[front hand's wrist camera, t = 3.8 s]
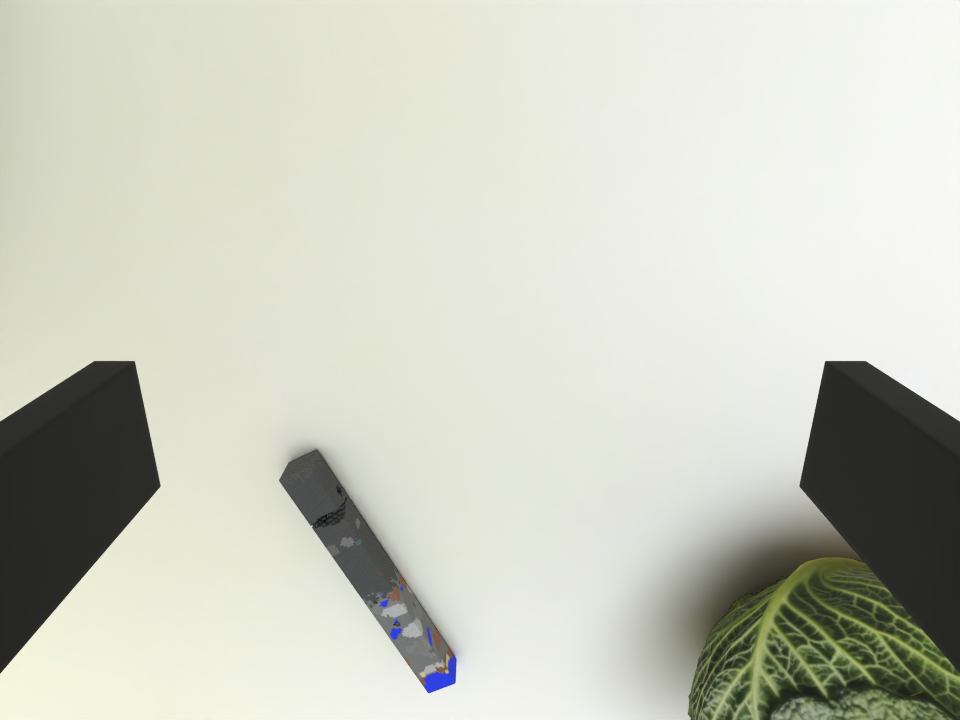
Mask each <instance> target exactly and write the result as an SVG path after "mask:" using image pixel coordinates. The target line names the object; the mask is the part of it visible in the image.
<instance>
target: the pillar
mask: <svg viewBox="0 0 960 720" xmlns="http://www.w3.org/2000/svg"><path fill="white" fill-rule="evenodd" d="M279 481H280V483H281V484H282V486H283V487H284V488H285V490H286V491H287V493H288V494H289V496H290V497H291V498H292V500H293V501H294V503H295V504H296V505H297V507H298V508H299V510H300V511H301V513H302V514H303V515H304V517H305V518H306V520H307V521H308V523H309V524H310V525H311V526H312V525H313V527H312V528H313V530H314V531H315V533H316V534H317V535H318V537H319V538H320V540H321V541H322V542H323V544H324V545H325V547H326V548H327V550H328V551H329V552H330V554H331V555H332V557H333V558H334V560H335V561H336V562H337V564H338V565H339V567H340V568H341V570H342V571H343V572H344V574H345V575H346V577H347V578H348V580H349V581H350V582H351V584H352V585H353V587H354V588H355V589H356V591H357V592H358V594H359V595H360V597H361V598H362V599H363V601H364V602H365V604H366V605H367V607H368V608H369V609H370V611H371V612H372V614H373V615H374V617H375V618H376V619H377V621H378V622H379V624H380V625H381V627H382V628H383V629H384V631H385V632H386V634H387V635H388V636H389V638H390V639H391V641H392V642H393V644H394V645H395V646H396V648H397V649H398V651H399V652H400V654H401V655H402V656H403V658H404V659H405V661H406V662H407V664H408V665H409V666H410V668H411V669H412V671H413V672H414V673H415V675H416V676H417V678H418V679H419V681H420V682H421V683H422V685H423V686H424V688H425V689H426V691H427V692H428V693H431V692H434V691H436V690H439V689H442V688H444V687H447V686H450V685H452V684H455V682H456V658H455V656H454V655H453V653H452V652H451V650H450V649H449V647H448V646H447V644H446V643H445V641H444V640H443V638H442V636H441V635H440V633H439V632H438V630H437V629H436V627H435V626H434V624H433V623H432V621H431V620H430V618H429V617H428V615H427V614H426V612H425V611H424V609H423V608H422V606H421V605H420V603H419V602H418V600H417V599H416V597H415V596H414V594H413V593H412V591H411V590H410V588H409V587H408V585H407V584H406V582H405V581H404V579H403V578H402V576H401V575H400V573H399V572H398V570H397V569H396V567H395V566H394V564H393V563H392V561H391V560H390V558H389V557H388V555H387V554H386V552H385V551H384V549H383V548H382V546H381V545H380V543H379V542H378V540H377V539H376V537H375V536H374V534H373V533H372V531H371V530H370V528H369V527H368V525H367V524H366V522H365V521H364V519H363V518H362V516H361V515H360V513H359V512H358V510H357V509H356V507H355V506H354V504H353V503H352V501H351V500H350V498H349V496H348V495H347V493H346V492H345V490H344V489H343V487H342V486H341V484H340V483H339V481H338V480H337V478H336V477H335V475H334V474H333V472H332V471H331V469H330V468H329V466H328V465H327V463H326V462H325V460H324V459H323V457H322V456H321V454H320V453H319V451H318V450H316V451H313V452H311V453H309V454H307V455H305V456H302V457H300V458H298V459H296V460H294V461H292V462H289V463H288V465H287V467H286V469H285V471H284V472H283V474H282V476H281V478H280V480H279ZM327 514H328V516H327Z"/></svg>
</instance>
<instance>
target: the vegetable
mask: <svg viewBox="0 0 960 720" xmlns="http://www.w3.org/2000/svg"><path fill="white" fill-rule="evenodd" d="M688 697H689V710H688V715H689V716H690V717H691V720H960V673H959V672H958V671H957V670H956V669H955V667H954V666H953V665H952V664H951V663H950V662H949V660H948V659H947V658H946V657H945V656H944V655H943V653H942V652H941V651H940V650H939V649H938V648H937V646H936V645H935V644H934V643H933V642H932V641H931V639H930V638H929V637H928V636H927V635H926V634H925V632H924V631H923V630H922V629H921V628H920V627H919V625H918V624H917V623H916V622H915V621H914V620H913V618H912V617H911V616H910V615H909V614H908V613H907V611H906V610H905V609H904V608H903V607H902V605H901V604H900V603H899V602H898V601H897V600H896V598H895V597H894V596H893V595H892V594H891V593H890V591H889V590H888V589H887V588H886V587H885V586H884V584H883V583H882V582H881V581H880V580H879V579H878V577H877V576H876V575H875V574H874V573H873V572H872V570H871V569H870V568H869V567H868V566H867V565H866V563H865V562H859V561H857V560H854V559H850V558H845V557H827V558H819V559H814V560H810V561H807V562H805V563H804V564H802V565H800V566H799V567H798V568H797V569H796V570H795V571H794V572H793V573H790V574H788V575H786V576H783V577H781V578H780V579H779V581H777V582H775V583H774V584H772V585H770V586H769V587H768V588H766V589H765V590H763V591H762V592H760V593H758V594H756V595H754V594H746V595H745V596H743V597H742V598H740V599H739V600H737V601H736V602H734V603H733V604H732V606H731V609H730V611H729V612H728V613H727V614H726V615H725V616H724V617H723V618H722V619H721V620H720V621H718V622H717V623H716V624H715V626H714V627H713V629H712V630H711V632H710V634H709V636H708V638H707V641H706V644H705V647H704V649H703V651H702V653H701V655H700V657H699V660H698V665H697V670H696V673H695V676H694V680H693V684H692V689H691V694H690V695H689V696H688Z"/></svg>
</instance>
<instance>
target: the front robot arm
mask: <svg viewBox="0 0 960 720" xmlns="http://www.w3.org/2000/svg"><path fill="white" fill-rule="evenodd" d="M159 488H160V481H159V476H158V471H157V466H156V462H155V457H154V452H153V447H152V442H151V438H150V433H149V428H148V423H147V418H146V413H145V409H144V404H143V399H142V394H141V389H140V384H139V380H138V375H137V370H136V365H135V361H94V362H92V363H91V364H89V365H88V366H86V367H85V368H83V369H81V370H80V371H78V372H77V373H75V374H74V375H72V376H71V377H69V378H67V379H66V380H64V381H63V382H61V383H60V384H58V385H56V386H55V387H53V388H52V389H50V390H49V391H47V392H46V393H44V394H42V395H41V396H39V397H38V398H36V399H35V400H33V401H32V402H30V403H28V404H27V405H25V406H24V407H22V408H21V409H19V410H18V411H16V412H14V413H13V414H11V415H10V416H8V417H7V418H5V419H4V420H2V421H0V673H1V672H2V671H3V670H4V669H5V667H6V666H7V665H8V664H9V663H10V662H11V660H12V659H13V658H14V657H15V656H16V655H17V653H18V652H19V651H20V650H21V649H22V648H23V646H24V645H25V644H26V643H27V642H28V641H29V639H30V638H31V637H32V636H33V635H34V634H35V632H36V631H37V630H38V629H39V628H40V627H41V625H42V624H43V623H44V622H45V621H46V620H47V618H48V617H49V616H50V615H51V614H52V612H53V611H54V610H55V609H56V608H57V607H58V605H59V604H60V603H61V602H62V601H63V600H64V598H65V597H66V596H67V595H68V594H69V593H70V591H71V590H72V589H73V588H74V587H75V586H76V584H77V583H78V582H79V581H80V580H81V579H82V577H83V576H84V575H85V574H86V573H87V572H88V570H89V569H90V568H91V567H92V566H93V565H94V563H95V562H96V561H97V560H98V559H99V558H100V556H101V555H102V554H103V553H104V552H105V551H106V549H107V548H108V547H109V546H110V545H111V544H112V542H113V541H114V540H115V539H116V538H117V537H118V535H119V534H120V533H121V532H122V531H123V530H124V528H125V527H126V526H127V525H128V524H129V523H130V521H131V520H132V519H133V518H134V517H135V516H136V514H137V513H138V512H139V511H140V510H141V509H142V507H143V506H144V505H145V504H146V503H147V502H148V500H149V499H150V498H151V497H152V496H153V495H154V493H155V492H156V491H157V490H158V489H159ZM800 488H801V489H802V490H803V491H804V492H805V493H806V495H807V496H808V497H809V498H810V499H811V500H812V502H813V503H814V504H815V505H816V506H817V507H818V509H819V510H820V511H821V512H822V513H823V514H824V516H825V517H826V518H827V519H828V520H829V521H830V523H831V524H832V525H833V526H834V527H835V528H836V530H837V531H838V532H839V533H840V534H841V535H842V537H843V538H844V539H845V540H846V541H847V542H848V544H849V545H850V546H851V547H852V548H853V549H854V551H855V552H856V553H857V554H858V555H859V556H860V558H861V559H862V560H863V561H864V562H865V563H866V565H867V566H868V567H869V568H870V569H871V570H872V572H873V573H874V574H875V575H876V576H877V577H878V579H879V580H880V581H881V582H882V583H883V584H884V586H885V587H886V588H887V589H888V590H889V591H890V593H891V594H892V595H893V596H894V597H895V598H896V600H897V601H898V602H899V603H900V604H901V605H902V607H903V608H904V609H905V610H906V611H907V613H908V614H909V615H910V616H911V617H912V618H913V620H914V621H915V622H916V623H917V624H918V625H919V627H920V628H921V629H922V630H923V631H924V632H925V634H926V635H927V636H928V637H929V638H930V639H931V641H932V642H933V643H934V644H935V645H936V646H937V648H938V649H939V650H940V651H941V652H942V653H943V655H944V656H945V657H946V658H947V659H948V660H949V662H950V663H951V664H952V665H953V666H954V667H955V669H956V670H957V671H958V672H959V673H960V421H958V420H956V419H955V418H953V417H952V416H950V415H949V414H947V413H946V412H944V411H942V410H941V409H939V408H938V407H936V406H935V405H933V404H932V403H930V402H928V401H927V400H925V399H924V398H922V397H921V396H919V395H918V394H916V393H914V392H913V391H911V390H910V389H908V388H907V387H905V386H904V385H902V384H900V383H899V382H897V381H896V380H894V379H893V378H891V377H889V376H888V375H886V374H885V373H883V372H882V371H880V370H879V369H877V368H875V367H874V366H872V365H871V364H869V363H868V362H866V361H825V365H824V370H823V375H822V380H821V384H820V389H819V394H818V399H817V404H816V409H815V413H814V418H813V423H812V428H811V433H810V438H809V442H808V447H807V452H806V457H805V462H804V466H803V471H802V476H801V481H800Z"/></svg>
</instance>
